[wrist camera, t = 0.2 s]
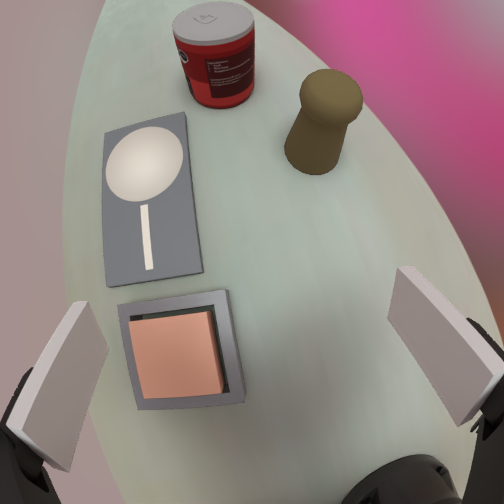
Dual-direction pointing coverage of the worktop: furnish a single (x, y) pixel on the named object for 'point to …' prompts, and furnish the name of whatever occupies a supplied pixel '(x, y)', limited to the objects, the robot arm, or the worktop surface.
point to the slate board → (149, 203)
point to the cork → (322, 120)
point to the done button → (177, 356)
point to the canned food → (217, 52)
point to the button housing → (221, 302)
